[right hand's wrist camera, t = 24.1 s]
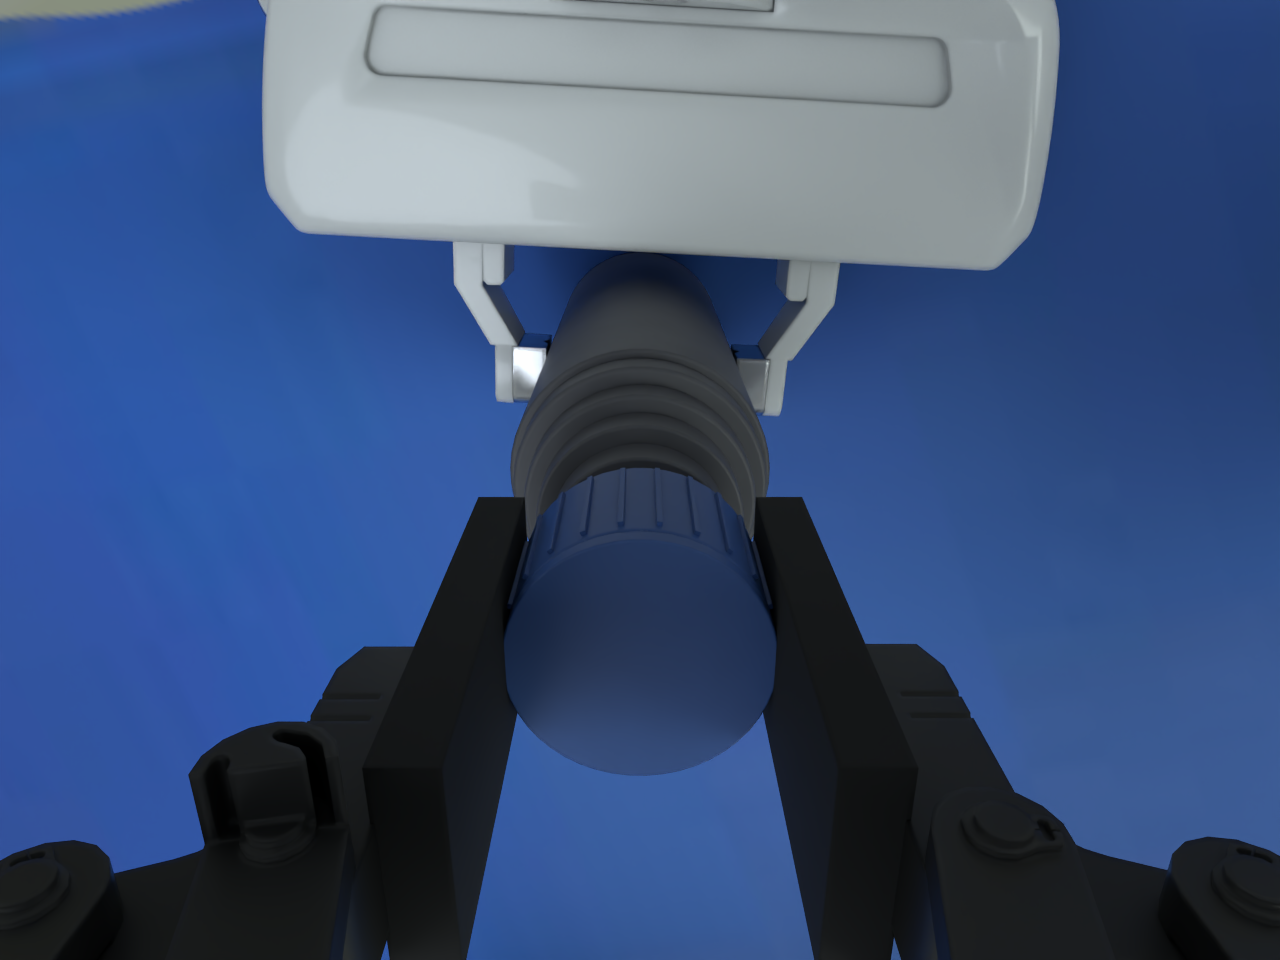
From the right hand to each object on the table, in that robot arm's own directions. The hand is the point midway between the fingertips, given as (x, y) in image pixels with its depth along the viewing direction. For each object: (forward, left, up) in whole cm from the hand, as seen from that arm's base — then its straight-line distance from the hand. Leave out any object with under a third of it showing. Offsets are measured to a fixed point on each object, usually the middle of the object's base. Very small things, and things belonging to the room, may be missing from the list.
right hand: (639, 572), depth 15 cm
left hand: (-1, +1, -12) cm, 12 cm away
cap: (0, 0, 0) cm, 0 cm away
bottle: (0, 0, -19) cm, 19 cm away
